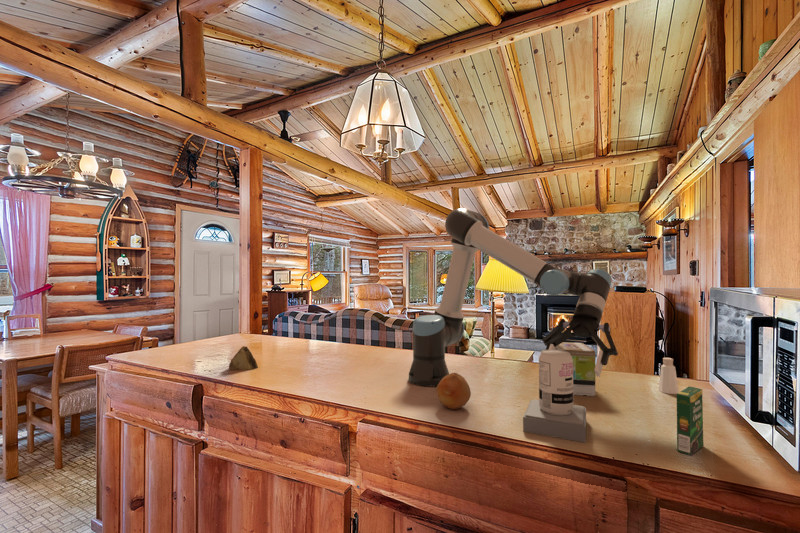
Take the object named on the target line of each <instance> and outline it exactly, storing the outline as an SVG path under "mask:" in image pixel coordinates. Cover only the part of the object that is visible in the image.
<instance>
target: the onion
mask: <svg viewBox="0 0 800 533" xmlns="http://www.w3.org/2000/svg"><path fill="white" fill-rule="evenodd" d="M435 390H436V394H437V397H438V400H439V402H440V403H441V404H442V405H443V406H444V407H445V408H449V409H450V410H458V409H460V408H462V407H464V406H465V405H466V404H467V403H468V402H469V401H470V398H471V395H472V391H471V388H470V385H469V383H468V381H467V380H466V379H465V377H463V376H462V375H461V374H459V373H457V372H451V373H449V374H448V375H446V376H445V377H443V378H442V380H441V381H440V382H439V384H438V386H436V389H435Z"/></svg>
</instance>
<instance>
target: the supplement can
mask: <svg viewBox="0 0 800 533" xmlns="http://www.w3.org/2000/svg"><path fill="white" fill-rule="evenodd" d="M538 391H539V392H538V397H539V398H538V400H539V406H540V408H541V409H542V410H543V411H544V412H546V413H549V414H552V415H559V416H564V415H569V414H571V412H573V411H574V405H575V403H574V395H573V359H572V357H571V355H570V353H569V352H566V351H562V350H546V349H543V350H541V352H540V354H539V356H538Z"/></svg>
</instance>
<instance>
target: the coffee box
mask: <svg viewBox="0 0 800 533" xmlns="http://www.w3.org/2000/svg"><path fill="white" fill-rule="evenodd" d="M675 395H676V443H677V444H676V446H677V449H676V450H677V452H679V453H682V454H685V455H687V456H689V457H690V456H693V454H695V453H697V451H699V450H700V449H701V448H703V447H704V444H705V443H704V417H703V415H704V414H703V412H704V411H703V389H702V388H698V387H696V386H695V387H694V386H687V387H686V388H684V389H683V390H681V391H679V393H677V394H675Z"/></svg>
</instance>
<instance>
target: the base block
mask: <svg viewBox="0 0 800 533" xmlns="http://www.w3.org/2000/svg"><path fill="white" fill-rule="evenodd" d="M528 403H529V404H528V405H527V407H526V410H525V411H524V414H523V416H522V425H523V426H522V431H523V432H525V433H531V434H535V435H540V436H541V435H542V436H547V437H550V438H551V437H552V438H553V437H554V438H557V439H563V440H568V441H569V440H570V441H574V442H577V443H578V442H580V443H584V444H586V443H587V439H586V438H587V407H585V406H583V405H576V404H574V411H573V412H571V414H569V415H564V416H559V415H552V414H549V413H546V412H544V411H543V410H542V409H541V408H540V406H539V399H535V398H532V399H530V401H529V402H528Z"/></svg>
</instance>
